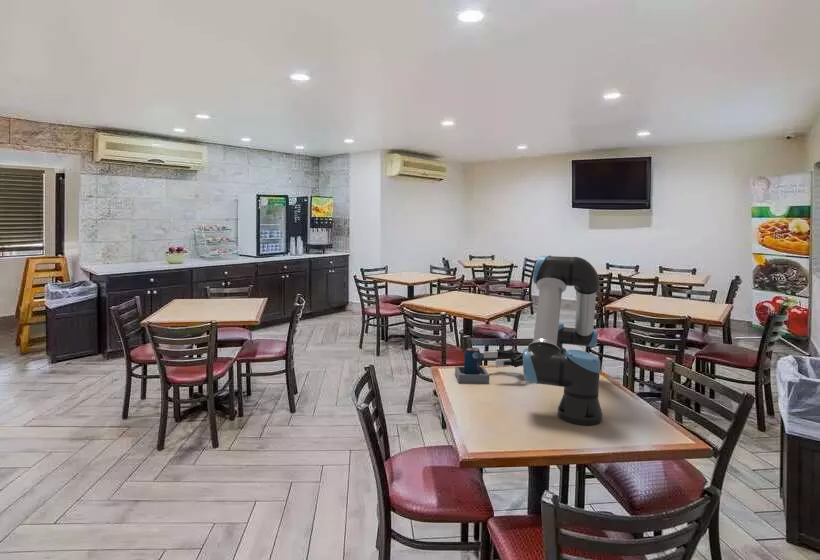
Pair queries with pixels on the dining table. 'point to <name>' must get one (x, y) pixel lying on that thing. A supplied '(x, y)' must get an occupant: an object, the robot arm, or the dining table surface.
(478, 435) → the dining table surface
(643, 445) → the dining table surface
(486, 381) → the drink tray
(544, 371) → the robot arm
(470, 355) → the soda can
